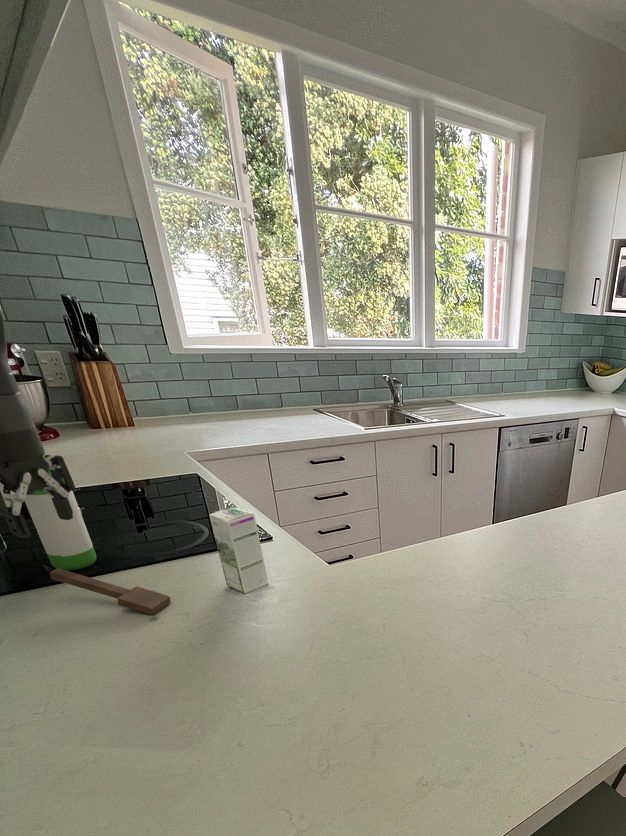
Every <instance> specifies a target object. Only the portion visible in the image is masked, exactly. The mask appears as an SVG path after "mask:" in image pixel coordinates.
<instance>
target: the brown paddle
mask: <svg viewBox="0 0 626 836" xmlns="http://www.w3.org/2000/svg"><path fill="white" fill-rule="evenodd" d="M49 575H50V578H51V580H55V581H57V582H61V583H64V584H67V585H70V586H74V587H77V588H80V589H84V590H86V591H90V592H93V593H96V594H101V595H104V596H107V597H110V598H114V599H117V605H118V606H121V607H123V608H127V609H131V610H134V611H138V612H139V613H144V614H147V615H150V616H154V615H156V614H157V613H158V612H160V611H161V610H163V609H164V608H165V607H167V606H168V605H170V604H171V603H172V602H171V595H167V594H163V593H161V592H158V591H154V590H151V589H147V588H144V587H141V586H134V587H132V588H131V589H129V588H126V587H123V586H119V585H116V584H112V583H109V582H105V581H102V580H100V579H96V578H93V577H89V576H86V575H83V574H79V573H76V572H73V571H66V570H63V569H60V568H57V569H56V568H54V569H53V570H51V571H50V572H49Z"/></svg>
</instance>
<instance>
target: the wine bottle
mask: <svg viewBox="0 0 626 836" xmlns="http://www.w3.org/2000/svg"><path fill="white" fill-rule="evenodd" d="M45 455H48V454H47V453H45V454H44V455H43V457H44V458H45ZM48 475H49V476H51V477H52V474H51V472H50V470H49V471H48ZM52 478H53V477H52ZM62 479H63V478H62ZM63 482H64V479H63ZM64 483H65V482H64ZM53 497H54V496H51V495H50V494H48V493H47V492H46V491H44V490H41V491H35V492H34V493H32V494H29V495H26V500H25V501H24V503H25V505H26V508H27V510H28V512H29V515H30V517H31V519H32V522H33V524H34V527H35V529H36V532H37V534H38V537H39V539H40V541H41V544H42V546H43V548H44V550H45V553H46V555H47V557H48V559H49V562H50V564H51V566H52V567H53V568H54V569H57V568H60V569H63V570H66V571H69V572H72V571H77V570H83V569H85V568H89V567H90V566H92V565H93V564H95V562H96V561H97V554H96V551H95V548H94V545H93V542H92V540H91V537H90V534H89V531H88V529H87V525H86V523H85V521H84V518H83V516H82V515H83V514H82V512H81V510H80V508H79V504H78V502H77V499H76V496H75V494H74V491H70V492H69V493H68V500H69V503H70V506H71V508H72V511H73V518H72V519H70V520H63V519H60V518H59V517H58V514H57V512H56V509H55V506H54V504H53V501H52V499H51V498H53Z"/></svg>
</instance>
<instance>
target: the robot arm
mask: <svg viewBox="0 0 626 836" xmlns="http://www.w3.org/2000/svg"><path fill="white" fill-rule="evenodd" d="M44 454H46V450H45V448H44V445H43V442H42V440H41V437H40V434H39V432H38V429H37V427H36V424H35V422H34V419H33V417H32V415H31V412H30V409H29V407H28V405H27V403H26V400H25V399H24V398H23V395H22V393H21V392H20V388H19V385H18V383H17V380H16V378H15V376H14V372H13V370H12V367H11V366H10V364H9V359H8V343H7V336H6V328H5V320H4V315H3V311H2V307H1V306H0V516H2V517H4V519H5V520H6V523H7V525H8V527H9V530H10V532H11V534H13V535H14V536H16V537H17V538H22V539H23V538H24V539H26V538H29V537H31V536H32V534H31V531H30V529H29V526H28V524H27V522H26V519H25V517H24V515H23V514H22V513H21V510H22V506H23V505H22V504H23V503H25V500H26V495H29V494H32V493H34V492H35V491H41V490H44V491H46V492H47V493H48V494H50V495H51V496H54V497H53V498H51V499H52V501H53V504H54V506H55V509H56V512H57V514H58V517H59V518H60V519H63V520H70V519H72V518H73V511H72V508H71V506H70V503H69V500H68V493H69V492H70V491H73V492H74V491H76V485H75V482H74V480H73V478H72V476H71V473H70V471H69V468H68V466H67V464H66V461H65V459H64V457H63V456H62V455H58V454H57V455H55V454H47V455H45V458H44V457H43V455H44ZM49 470H50V472H51V474H52V477H53V478H52V477H51V476H49V475H48V471H49ZM62 478H63V479H64V482H65V483H64V482H63V479H62ZM11 492H12V493H14V494H12V493H11Z"/></svg>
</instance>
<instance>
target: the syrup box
mask: <svg viewBox="0 0 626 836" xmlns="http://www.w3.org/2000/svg"><path fill="white" fill-rule="evenodd" d="M208 515H209V520H210V524H211V528H212V532H213V537H214V540H215V544H216V548H217V551H218V552H217V553H218V557H219V560H220V564H221V568H222V572H223V575H224V580H225V584H226V586H227V587H229V588H231V589H234V590H236V591H238V592H241V593H242V594H247V593H250V592H254V591H255V590H258V589H260V588H262V587H263V588H264V587H265V586H267V585H269V579H268V574H267V569H266V565H265V560H264V555H263V549H262V545H261V541H260V535H259V531H258V525H257V521H256V517H255V513H254V512H251V511H248V510H245V509H243V508H239V507H236V506H233V507H227V508H223V509H221V510H217V511H215V512H213V513H210V514H208Z"/></svg>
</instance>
